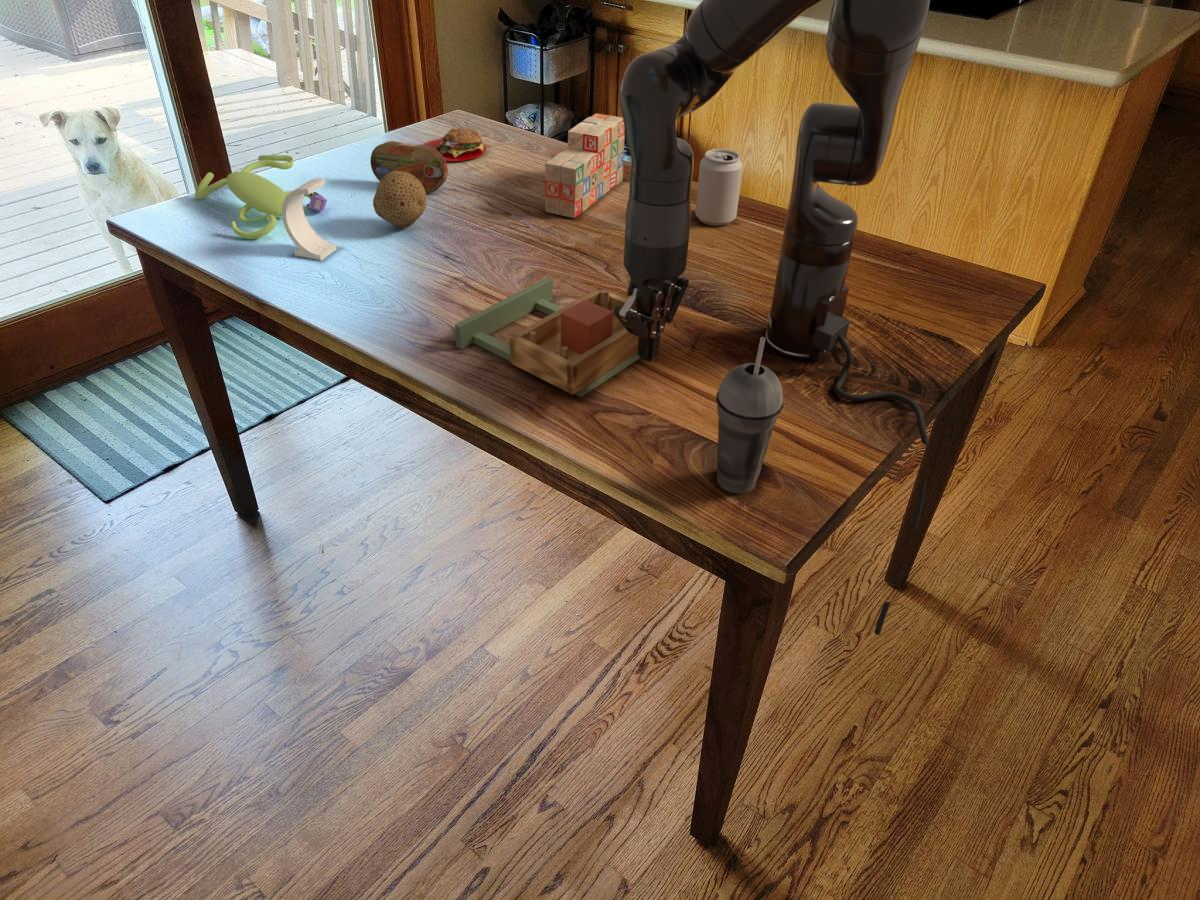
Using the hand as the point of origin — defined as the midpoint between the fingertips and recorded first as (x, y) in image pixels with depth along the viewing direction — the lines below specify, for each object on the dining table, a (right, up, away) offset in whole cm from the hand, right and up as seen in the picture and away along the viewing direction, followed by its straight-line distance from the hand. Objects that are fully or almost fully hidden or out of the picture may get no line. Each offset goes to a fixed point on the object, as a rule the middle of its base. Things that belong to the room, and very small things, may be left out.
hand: (648, 357), depth 112 cm
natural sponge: (-41, +27, +40) cm, 63 cm away
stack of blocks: (-9, +36, +54) cm, 65 cm away
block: (-8, +2, +7) cm, 11 cm away
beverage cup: (+10, -16, -11) cm, 21 cm away
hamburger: (-37, +51, +71) cm, 94 cm away
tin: (-42, +38, +55) cm, 79 cm away
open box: (-8, +2, +8) cm, 11 cm away
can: (+15, +30, +47) cm, 58 cm away
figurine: (-68, +32, +46) cm, 88 cm away
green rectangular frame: (-12, +3, +11) cm, 17 cm away
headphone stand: (-54, +21, +32) cm, 66 cm away
